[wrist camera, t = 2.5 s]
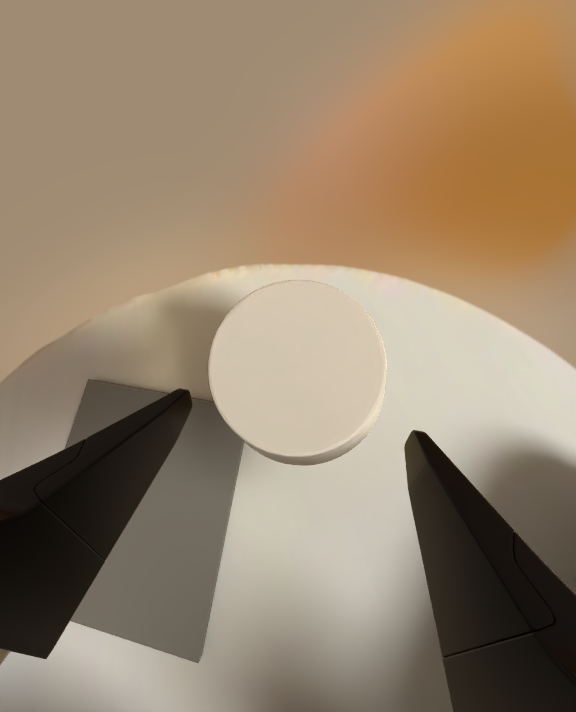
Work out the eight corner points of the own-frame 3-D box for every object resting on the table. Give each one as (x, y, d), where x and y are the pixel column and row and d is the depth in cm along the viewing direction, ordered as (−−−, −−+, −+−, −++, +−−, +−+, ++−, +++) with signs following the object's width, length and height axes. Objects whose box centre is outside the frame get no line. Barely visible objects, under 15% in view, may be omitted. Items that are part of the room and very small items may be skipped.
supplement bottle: (249, 373, 19) (137, 309, 7) (322, 336, 19) (343, 206, 7) (286, 452, 18) (227, 557, 5) (364, 411, 18) (491, 420, 5)
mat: (201, 655, 16) (198, 663, 15) (21, 596, 17) (13, 602, 17) (250, 408, 19) (248, 408, 18) (93, 380, 20) (88, 379, 20)
